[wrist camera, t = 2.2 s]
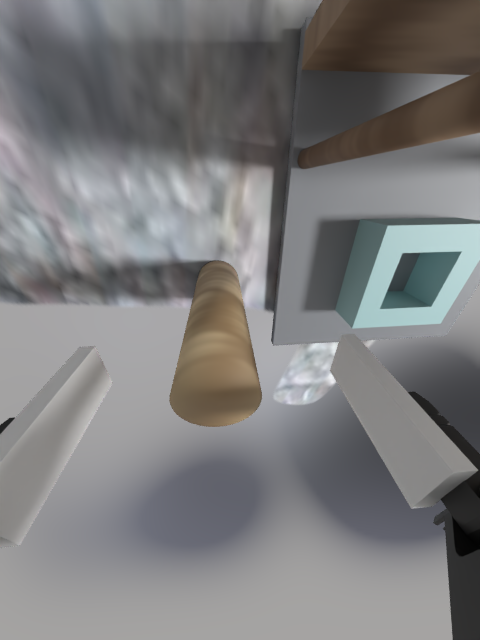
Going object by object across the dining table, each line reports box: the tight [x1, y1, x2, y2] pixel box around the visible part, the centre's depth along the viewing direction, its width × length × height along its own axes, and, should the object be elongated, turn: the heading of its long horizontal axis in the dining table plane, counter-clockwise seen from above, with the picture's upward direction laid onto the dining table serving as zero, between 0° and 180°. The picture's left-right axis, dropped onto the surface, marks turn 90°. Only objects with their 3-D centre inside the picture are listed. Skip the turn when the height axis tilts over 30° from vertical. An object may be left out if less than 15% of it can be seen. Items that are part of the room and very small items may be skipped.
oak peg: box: [170, 261, 262, 427], centre depth 15 cm, size 4×4×14 cm
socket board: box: [271, 17, 480, 345], centre depth 18 cm, size 22×24×4 cm
